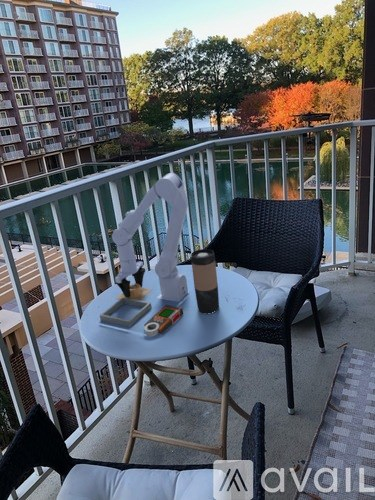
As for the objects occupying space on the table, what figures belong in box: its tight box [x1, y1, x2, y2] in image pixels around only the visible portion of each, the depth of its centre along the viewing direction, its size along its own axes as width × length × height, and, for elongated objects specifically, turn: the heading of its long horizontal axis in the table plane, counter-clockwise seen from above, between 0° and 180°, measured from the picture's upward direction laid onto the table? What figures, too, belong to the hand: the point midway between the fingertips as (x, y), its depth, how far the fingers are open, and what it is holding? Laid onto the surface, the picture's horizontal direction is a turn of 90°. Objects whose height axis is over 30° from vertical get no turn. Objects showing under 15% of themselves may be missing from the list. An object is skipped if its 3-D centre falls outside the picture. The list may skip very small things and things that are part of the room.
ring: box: [129, 282, 142, 298], centre depth 138 cm, size 7×6×3 cm
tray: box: [99, 298, 153, 328], centre depth 125 cm, size 12×12×2 cm
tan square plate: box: [115, 285, 153, 301], centre depth 137 cm, size 10×10×4 cm
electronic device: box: [143, 304, 184, 337], centre depth 117 cm, size 7×3×15 cm
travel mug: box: [190, 248, 220, 315], centre depth 120 cm, size 8×8×20 cm
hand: (133, 291), depth 138 cm, fingers open, 7 cm apart
